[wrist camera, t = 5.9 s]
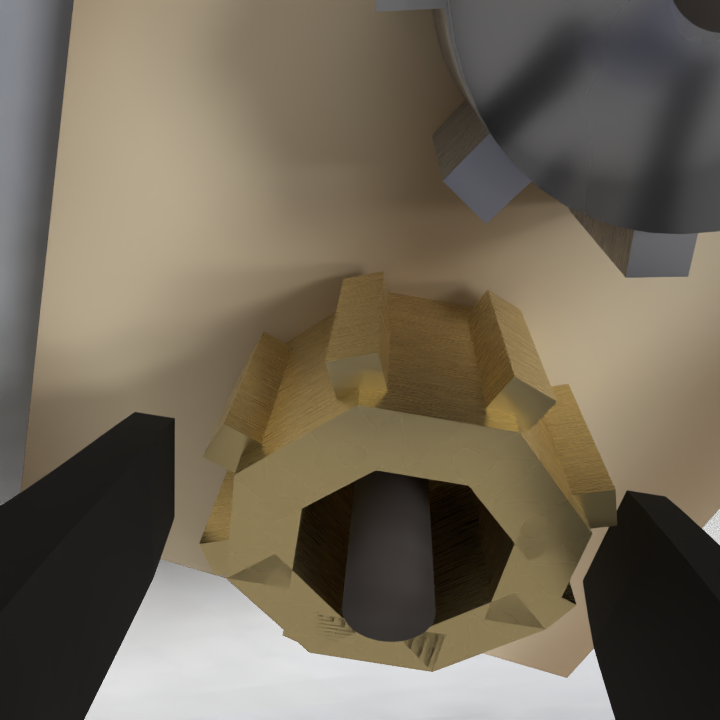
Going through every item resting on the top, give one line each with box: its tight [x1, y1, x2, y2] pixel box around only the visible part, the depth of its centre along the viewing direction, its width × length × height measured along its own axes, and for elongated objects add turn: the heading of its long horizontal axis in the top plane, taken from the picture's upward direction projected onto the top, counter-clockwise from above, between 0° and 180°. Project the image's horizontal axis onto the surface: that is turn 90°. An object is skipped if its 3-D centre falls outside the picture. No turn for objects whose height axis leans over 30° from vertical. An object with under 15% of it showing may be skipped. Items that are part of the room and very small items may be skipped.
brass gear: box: [199, 271, 617, 672], centre depth 10 cm, size 6×6×3 cm
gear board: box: [21, 0, 720, 678], centre depth 8 cm, size 13×18×5 cm
